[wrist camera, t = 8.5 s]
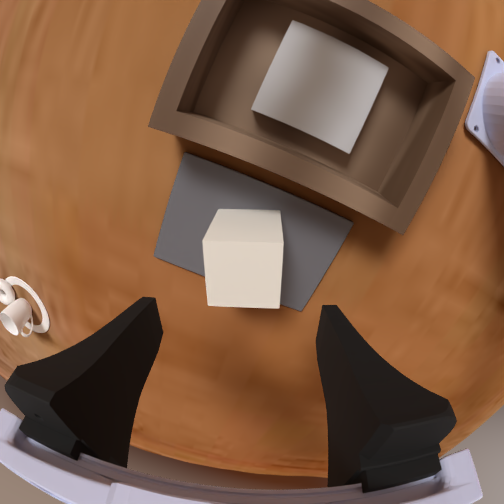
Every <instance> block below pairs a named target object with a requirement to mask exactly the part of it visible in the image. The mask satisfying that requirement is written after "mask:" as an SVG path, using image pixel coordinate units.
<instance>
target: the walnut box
mask: <svg viewBox="0 0 504 504" xmlns="http://www.w3.org/2000/svg"><path fill="white" fill-rule="evenodd" d="M474 79H475V77H474V76H473V75H471V74H470V73H469V72H468V71H467V70H466V69H465V68H464V67H463V66H462V65H460V64H459V63H458V62H457V61H456V60H455V59H453V58H452V57H451V56H450V55H449V54H447V53H446V52H445V51H444V50H443V49H441V48H440V47H439V46H437V45H436V44H435V43H434V42H432V41H431V40H430V39H428V38H427V37H425V36H424V35H423V34H421V33H420V32H418V31H417V30H416V29H414V28H413V27H411V26H410V25H408V24H407V23H405V22H404V21H402V20H400V19H399V18H397V17H396V16H394V15H392V14H391V13H389V12H387V11H386V10H384V9H382V8H380V7H379V6H377V5H375V4H373V3H371V2H370V1H368V0H201V2H200V4H199V6H198V8H197V9H196V11H195V13H194V15H193V17H192V19H191V21H190V23H189V25H188V27H187V29H186V31H185V34H184V36H183V38H182V40H181V42H180V44H179V47H178V49H177V51H176V53H175V56H174V58H173V60H172V63H171V65H170V68H169V70H168V72H167V75H166V77H165V80H164V83H163V85H162V88H161V90H160V93H159V96H158V99H157V101H156V104H155V107H154V110H153V113H152V116H151V119H150V122H149V125H148V127H151V128H154V129H157V130H160V131H163V132H166V133H169V134H172V135H176V136H178V137H181V138H184V139H187V140H190V141H193V142H196V143H199V144H202V145H204V146H207V147H210V148H213V149H215V150H218V151H221V152H223V153H226V154H229V155H231V156H234V157H236V158H239V159H242V160H244V161H247V162H249V163H252V164H254V165H257V166H259V167H261V168H264V169H266V170H269V171H271V172H273V173H276V174H278V175H281V176H283V177H285V178H287V179H290V180H292V181H294V182H297V183H299V184H301V185H303V186H306V187H308V188H310V189H312V190H314V191H317V192H319V193H321V194H323V195H325V196H327V197H329V198H331V199H334V200H336V201H338V202H340V203H342V204H344V205H346V206H348V207H350V208H352V209H354V210H356V211H358V212H360V213H362V214H364V215H366V216H368V217H370V218H372V219H374V220H376V221H377V222H379V223H381V224H383V225H385V226H387V227H389V228H391V229H392V230H394V231H396V232H398V233H400V234H402V235H404V233H405V231H406V229H407V228H408V226H409V224H410V222H411V221H412V219H413V217H414V215H415V213H416V212H417V210H418V208H419V206H420V204H421V202H422V201H423V199H424V197H425V195H426V193H427V191H428V189H429V187H430V185H431V183H432V181H433V179H434V177H435V175H436V173H437V171H438V169H439V167H440V165H441V163H442V160H443V158H444V156H445V154H446V152H447V149H448V147H449V145H450V143H451V140H452V138H453V136H454V133H455V131H456V128H457V126H458V123H459V121H460V118H461V116H462V113H463V111H464V108H465V105H466V103H467V100H468V97H469V94H470V91H471V88H472V85H473V82H474Z"/></svg>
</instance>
